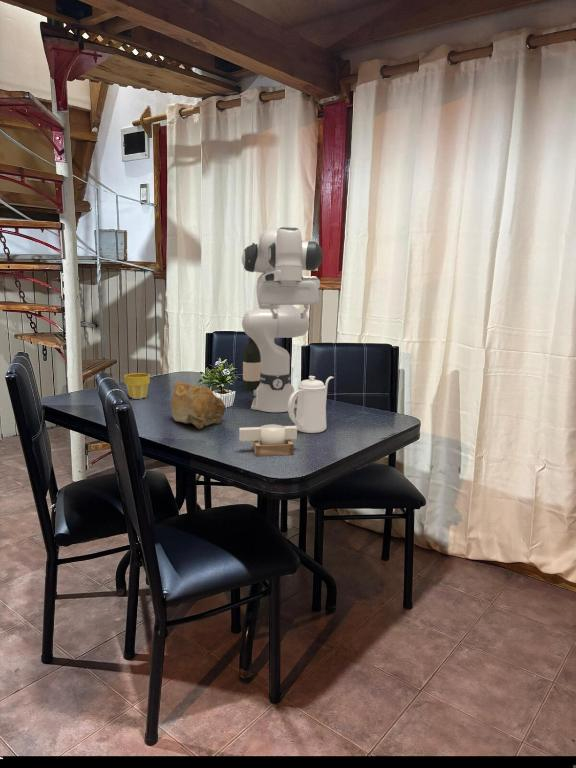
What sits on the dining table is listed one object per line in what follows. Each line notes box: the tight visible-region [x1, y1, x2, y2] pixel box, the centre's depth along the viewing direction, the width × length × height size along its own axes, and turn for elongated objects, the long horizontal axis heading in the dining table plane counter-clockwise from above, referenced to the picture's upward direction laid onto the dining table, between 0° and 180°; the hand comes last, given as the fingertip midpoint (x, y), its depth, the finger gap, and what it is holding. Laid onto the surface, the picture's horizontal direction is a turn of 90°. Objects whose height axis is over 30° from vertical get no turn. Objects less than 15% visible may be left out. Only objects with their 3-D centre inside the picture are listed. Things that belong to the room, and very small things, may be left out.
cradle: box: [252, 439, 295, 457], centre depth 175 cm, size 9×11×3 cm
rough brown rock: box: [171, 381, 227, 430], centre depth 203 cm, size 23×17×15 cm
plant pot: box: [123, 372, 151, 398], centre depth 239 cm, size 10×10×10 cm
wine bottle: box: [242, 335, 261, 391], centre depth 259 cm, size 8×8×30 cm
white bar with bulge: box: [238, 423, 298, 445], centre depth 175 cm, size 8×17×7 cm, turn 100°
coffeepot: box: [287, 375, 335, 434], centre depth 197 cm, size 11×25×19 cm, turn 141°
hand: (288, 318), depth 191 cm, fingers open, 8 cm apart
